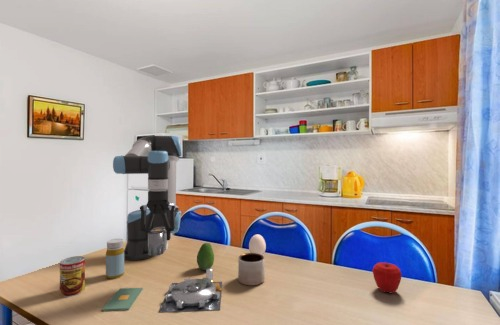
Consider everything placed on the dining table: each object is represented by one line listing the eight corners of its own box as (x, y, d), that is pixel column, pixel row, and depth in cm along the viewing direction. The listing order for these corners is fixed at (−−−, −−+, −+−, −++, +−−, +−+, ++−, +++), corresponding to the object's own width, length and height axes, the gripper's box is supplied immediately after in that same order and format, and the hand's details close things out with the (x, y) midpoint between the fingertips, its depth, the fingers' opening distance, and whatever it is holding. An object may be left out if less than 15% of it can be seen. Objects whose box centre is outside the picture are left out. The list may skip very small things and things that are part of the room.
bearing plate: (172, 283, 106) (172, 282, 106) (222, 282, 108) (222, 280, 108) (158, 312, 86) (158, 310, 86) (220, 310, 88) (220, 308, 88)
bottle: (116, 279, 109) (116, 243, 109) (102, 278, 111) (102, 242, 111) (127, 272, 116) (127, 238, 116) (113, 271, 118) (113, 237, 117)
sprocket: (210, 278, 110) (210, 258, 110) (229, 300, 93) (229, 277, 93) (161, 288, 101) (161, 267, 101) (172, 315, 84) (172, 290, 84)
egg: (255, 252, 142) (255, 231, 142) (268, 256, 137) (269, 234, 137) (245, 257, 135) (245, 235, 135) (259, 261, 130) (259, 238, 130)
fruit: (217, 267, 122) (217, 241, 122) (207, 274, 115) (207, 246, 115) (203, 264, 125) (203, 239, 125) (193, 271, 118) (193, 244, 118)
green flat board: (119, 289, 101) (119, 288, 101) (142, 289, 102) (142, 287, 102) (102, 310, 87) (102, 308, 87) (128, 310, 88) (128, 307, 88)
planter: (232, 280, 109) (232, 257, 109) (250, 272, 117) (250, 250, 117) (252, 289, 102) (252, 264, 102) (269, 279, 110) (269, 256, 110)
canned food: (58, 298, 94) (57, 265, 94) (61, 289, 101) (61, 258, 101) (84, 293, 98) (83, 261, 98) (85, 284, 105) (85, 254, 105)
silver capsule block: (155, 245, 110) (155, 226, 110) (168, 245, 110) (168, 226, 110) (146, 256, 99) (146, 234, 98) (161, 255, 99) (161, 234, 99)
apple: (398, 287, 104) (398, 259, 104) (404, 299, 95) (404, 269, 95) (371, 283, 107) (371, 256, 107) (374, 294, 98) (374, 265, 98)
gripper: (130, 191, 100) (130, 252, 100) (180, 191, 101) (180, 251, 101) (137, 189, 107) (137, 245, 108) (183, 188, 109) (183, 244, 109)
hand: (158, 248), depth 105 cm, fingers closed on silver capsule block, 5 cm apart
